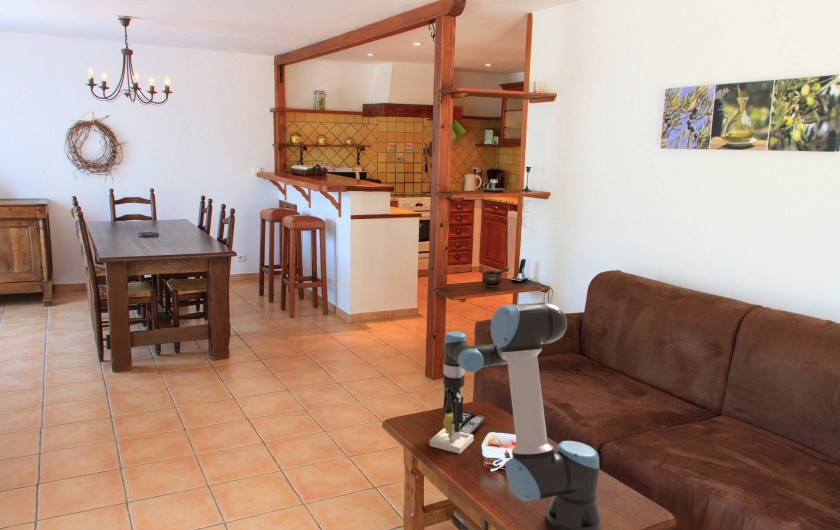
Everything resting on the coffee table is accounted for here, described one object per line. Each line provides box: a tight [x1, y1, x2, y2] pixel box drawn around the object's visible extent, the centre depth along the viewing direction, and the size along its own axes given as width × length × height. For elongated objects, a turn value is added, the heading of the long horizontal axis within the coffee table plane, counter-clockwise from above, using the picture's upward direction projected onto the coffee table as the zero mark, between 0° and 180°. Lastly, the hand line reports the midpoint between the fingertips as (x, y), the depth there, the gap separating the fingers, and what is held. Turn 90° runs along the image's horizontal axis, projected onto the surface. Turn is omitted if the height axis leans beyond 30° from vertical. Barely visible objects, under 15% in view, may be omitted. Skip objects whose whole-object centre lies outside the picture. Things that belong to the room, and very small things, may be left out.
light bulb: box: [442, 412, 463, 442], centre depth 232 cm, size 7×7×10 cm
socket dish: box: [429, 427, 474, 454], centre depth 233 cm, size 12×12×2 cm
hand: (452, 434), depth 232 cm, fingers closed on light bulb, 7 cm apart
